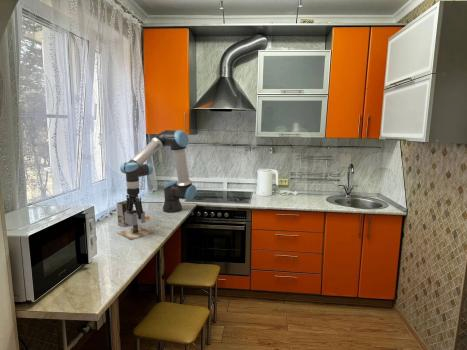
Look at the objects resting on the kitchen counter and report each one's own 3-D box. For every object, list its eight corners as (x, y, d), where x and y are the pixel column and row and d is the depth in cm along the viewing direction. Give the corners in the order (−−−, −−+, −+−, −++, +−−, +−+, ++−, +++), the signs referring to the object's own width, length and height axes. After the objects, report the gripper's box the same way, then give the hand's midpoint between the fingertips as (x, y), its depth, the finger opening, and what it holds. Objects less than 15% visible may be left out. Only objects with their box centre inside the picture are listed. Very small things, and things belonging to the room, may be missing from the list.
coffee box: (124, 227, 216) (122, 204, 214) (117, 225, 220) (116, 202, 217) (134, 223, 224) (133, 201, 221) (128, 221, 227) (126, 200, 225)
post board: (140, 227, 215) (139, 216, 214) (153, 233, 205) (153, 221, 203) (117, 233, 204) (117, 221, 202) (130, 240, 193) (130, 227, 192)
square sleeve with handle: (145, 217, 213) (144, 207, 212) (152, 220, 207) (152, 210, 206) (125, 222, 203) (124, 212, 201) (132, 225, 197) (131, 214, 195)
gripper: (118, 186, 203) (121, 220, 207) (136, 191, 189) (139, 227, 193) (129, 184, 209) (131, 217, 213) (147, 189, 194) (149, 224, 198)
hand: (135, 222), depth 203 cm, fingers closed on square sleeve with handle, 9 cm apart
